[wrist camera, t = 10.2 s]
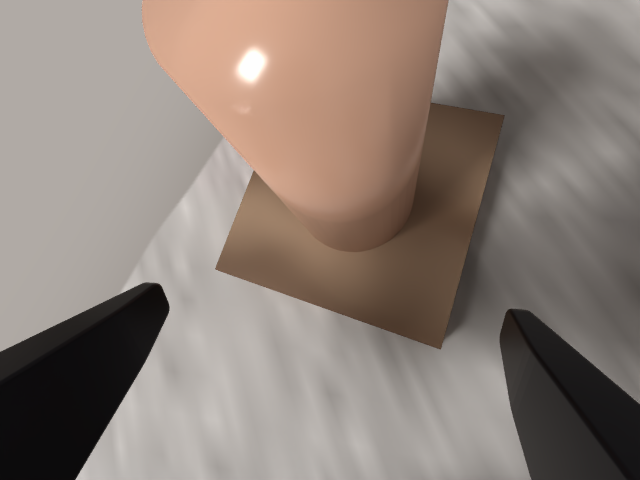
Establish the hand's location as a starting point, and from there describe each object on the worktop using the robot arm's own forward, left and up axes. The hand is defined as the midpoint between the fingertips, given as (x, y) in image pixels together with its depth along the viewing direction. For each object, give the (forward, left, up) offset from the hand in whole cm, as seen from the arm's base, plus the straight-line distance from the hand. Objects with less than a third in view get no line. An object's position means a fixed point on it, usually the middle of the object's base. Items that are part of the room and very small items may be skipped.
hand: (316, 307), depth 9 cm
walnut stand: (+6, +2, -10) cm, 12 cm away
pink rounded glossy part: (+6, +2, -8) cm, 10 cm away
